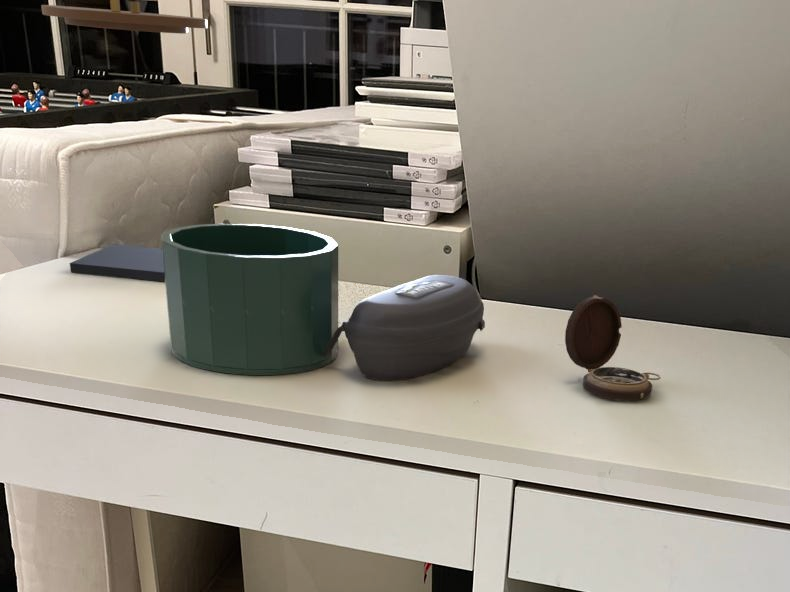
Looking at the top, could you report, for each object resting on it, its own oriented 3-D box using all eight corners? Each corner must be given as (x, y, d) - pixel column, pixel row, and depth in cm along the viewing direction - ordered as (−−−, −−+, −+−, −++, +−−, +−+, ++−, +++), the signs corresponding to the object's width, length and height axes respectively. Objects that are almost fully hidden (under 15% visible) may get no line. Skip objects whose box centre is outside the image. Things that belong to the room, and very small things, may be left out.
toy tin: (146, 365, 82) (134, 246, 77) (202, 322, 95) (195, 218, 90) (316, 382, 82) (315, 264, 77) (350, 337, 94) (351, 233, 89)
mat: (70, 272, 108) (69, 263, 107) (114, 252, 118) (113, 243, 118) (177, 283, 108) (176, 273, 107) (211, 262, 118) (211, 253, 117)
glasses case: (427, 387, 80) (399, 290, 77) (326, 407, 85) (297, 317, 82) (515, 339, 94) (494, 255, 91) (423, 358, 99) (401, 280, 96)
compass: (615, 407, 83) (629, 319, 79) (555, 379, 88) (565, 296, 84) (681, 395, 87) (697, 311, 83) (620, 370, 92) (632, 290, 88)
